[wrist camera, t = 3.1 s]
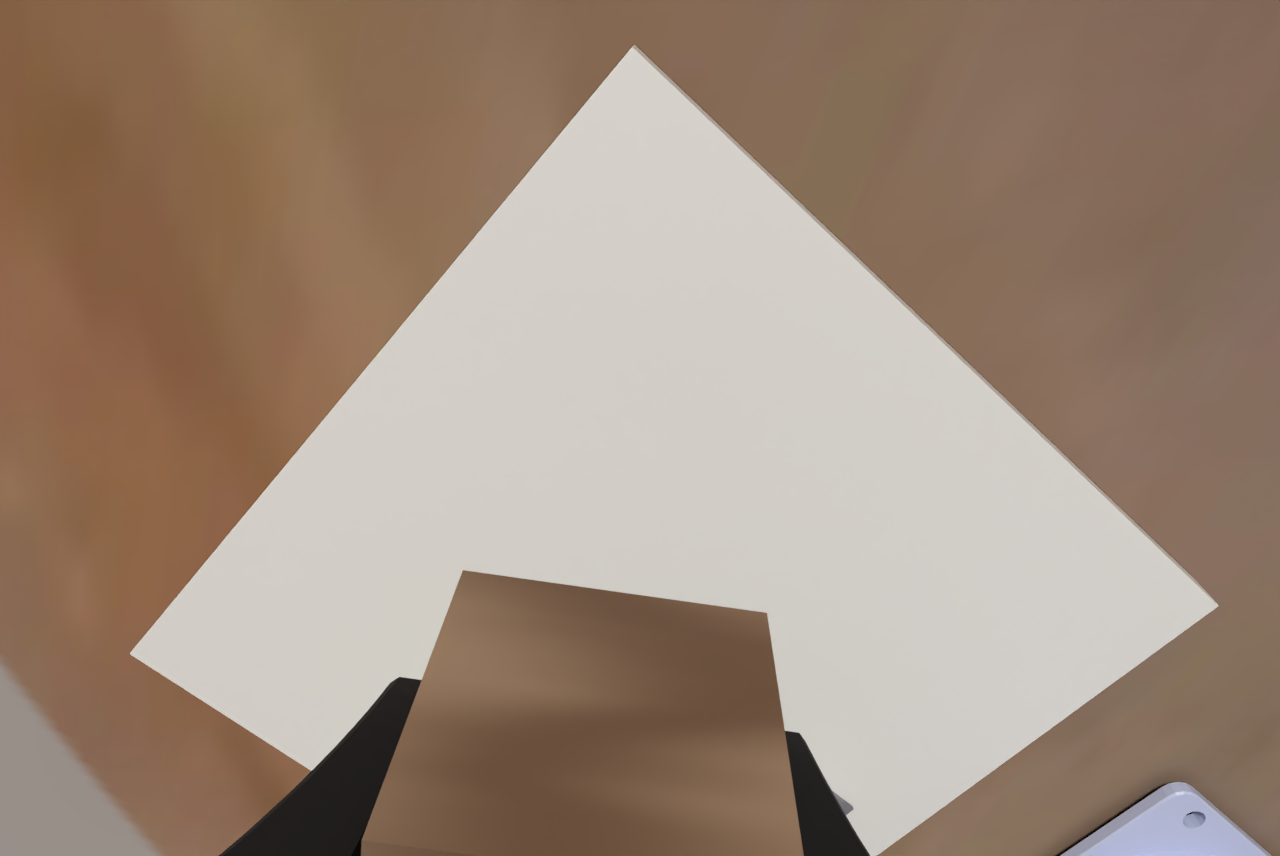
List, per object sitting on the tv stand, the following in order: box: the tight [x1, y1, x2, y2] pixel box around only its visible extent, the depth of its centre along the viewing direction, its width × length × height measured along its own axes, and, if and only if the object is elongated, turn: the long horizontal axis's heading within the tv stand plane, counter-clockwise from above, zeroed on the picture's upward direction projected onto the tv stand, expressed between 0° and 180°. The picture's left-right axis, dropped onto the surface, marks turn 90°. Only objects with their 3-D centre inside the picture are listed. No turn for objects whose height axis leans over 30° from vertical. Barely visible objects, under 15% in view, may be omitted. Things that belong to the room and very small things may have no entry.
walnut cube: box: [361, 570, 804, 856], centre depth 12 cm, size 4×4×4 cm
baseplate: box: [130, 45, 1219, 856], centre depth 22 cm, size 16×17×1 cm
